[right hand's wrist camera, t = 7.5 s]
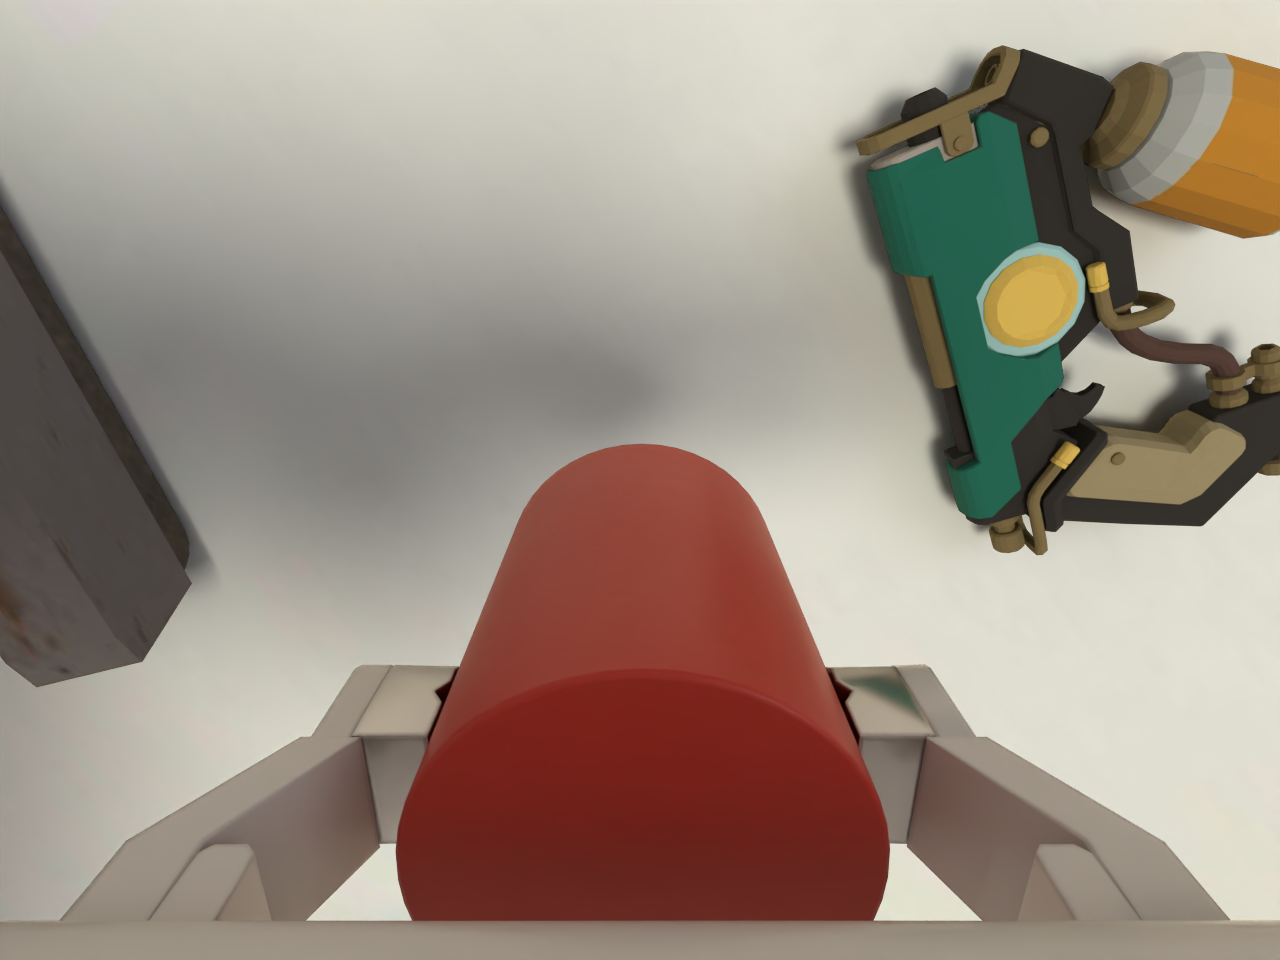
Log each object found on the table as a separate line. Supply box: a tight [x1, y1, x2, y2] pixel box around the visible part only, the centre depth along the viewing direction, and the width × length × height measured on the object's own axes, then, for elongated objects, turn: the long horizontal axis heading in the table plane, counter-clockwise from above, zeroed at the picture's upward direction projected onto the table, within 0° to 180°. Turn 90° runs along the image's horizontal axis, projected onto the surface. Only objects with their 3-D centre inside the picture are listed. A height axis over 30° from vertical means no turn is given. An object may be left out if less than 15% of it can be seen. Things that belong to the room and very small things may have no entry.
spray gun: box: [856, 45, 1280, 555], centre depth 23 cm, size 4×17×15 cm
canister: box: [396, 444, 890, 921], centre depth 11 cm, size 6×6×7 cm
